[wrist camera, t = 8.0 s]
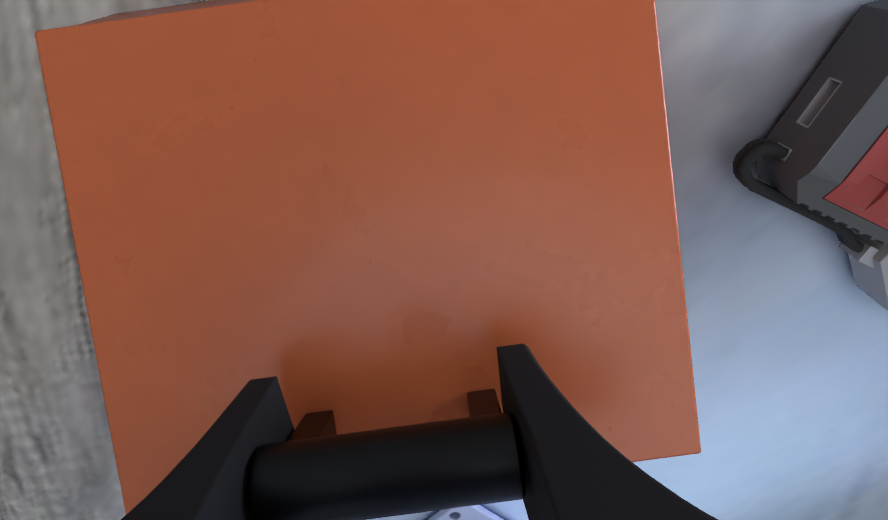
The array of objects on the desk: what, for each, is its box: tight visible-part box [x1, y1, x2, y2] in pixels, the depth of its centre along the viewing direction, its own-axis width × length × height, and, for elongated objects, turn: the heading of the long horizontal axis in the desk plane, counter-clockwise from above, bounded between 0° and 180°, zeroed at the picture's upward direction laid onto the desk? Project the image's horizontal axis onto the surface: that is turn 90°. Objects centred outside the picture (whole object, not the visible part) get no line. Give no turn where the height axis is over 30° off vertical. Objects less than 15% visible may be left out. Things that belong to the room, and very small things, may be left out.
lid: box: [35, 0, 701, 520], centre depth 13 cm, size 12×14×5 cm
